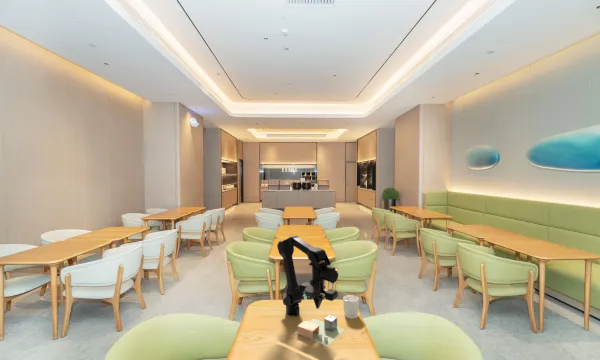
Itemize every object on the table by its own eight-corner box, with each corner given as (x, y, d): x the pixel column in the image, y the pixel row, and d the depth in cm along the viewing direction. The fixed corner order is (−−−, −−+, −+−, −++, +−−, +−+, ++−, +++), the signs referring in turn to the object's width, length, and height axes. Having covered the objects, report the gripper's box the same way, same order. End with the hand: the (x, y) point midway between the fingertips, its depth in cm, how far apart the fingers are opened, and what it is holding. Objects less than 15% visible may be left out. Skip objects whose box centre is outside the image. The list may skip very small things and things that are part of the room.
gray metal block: (324, 329, 141) (324, 318, 141) (329, 324, 144) (329, 314, 144) (332, 332, 138) (332, 321, 138) (337, 327, 142) (337, 317, 142)
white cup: (358, 321, 149) (358, 302, 149) (342, 320, 151) (342, 300, 150) (358, 314, 157) (358, 295, 156) (343, 312, 158) (343, 294, 158)
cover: (297, 333, 137) (297, 325, 137) (305, 327, 142) (305, 320, 142) (311, 339, 132) (311, 331, 132) (319, 333, 137) (319, 325, 137)
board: (294, 334, 138) (294, 325, 138) (313, 320, 151) (313, 311, 151) (327, 348, 127) (327, 338, 127) (345, 331, 140) (345, 322, 140)
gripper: (292, 277, 139) (291, 309, 140) (326, 287, 128) (326, 321, 129) (305, 270, 148) (305, 300, 149) (338, 278, 138) (338, 311, 139)
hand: (317, 308), depth 141 cm, fingers closed
